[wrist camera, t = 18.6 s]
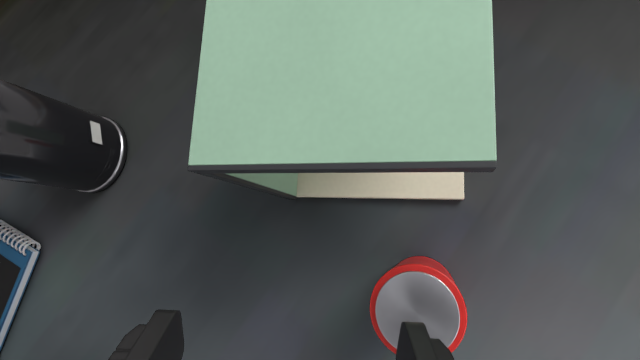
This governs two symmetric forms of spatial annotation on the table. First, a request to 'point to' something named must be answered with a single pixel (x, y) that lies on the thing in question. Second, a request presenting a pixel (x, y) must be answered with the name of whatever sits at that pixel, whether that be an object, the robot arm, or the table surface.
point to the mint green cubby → (346, 97)
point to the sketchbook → (14, 272)
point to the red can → (418, 302)
